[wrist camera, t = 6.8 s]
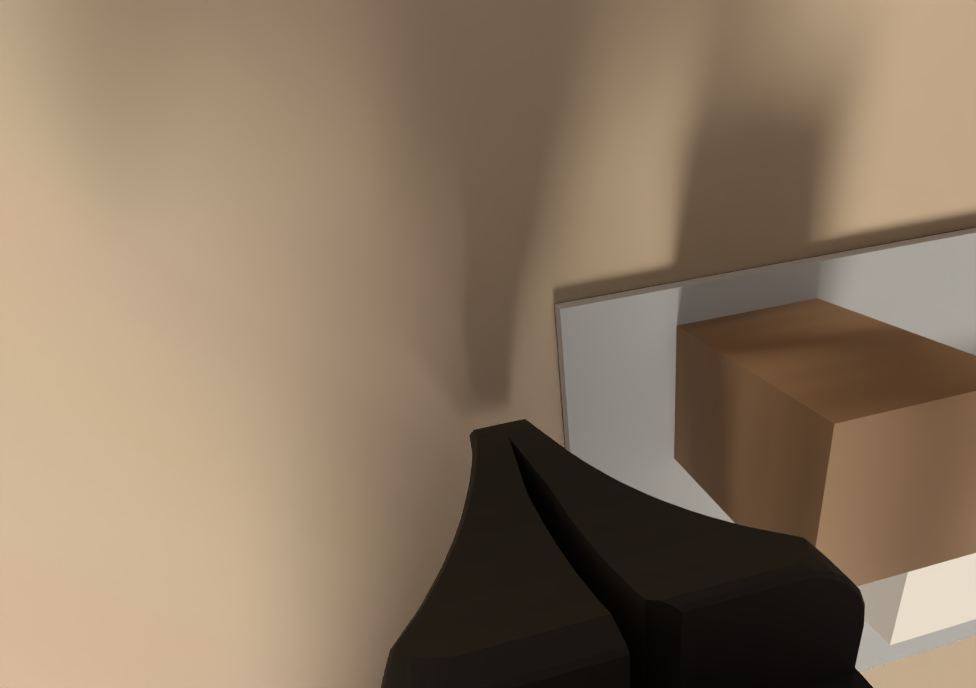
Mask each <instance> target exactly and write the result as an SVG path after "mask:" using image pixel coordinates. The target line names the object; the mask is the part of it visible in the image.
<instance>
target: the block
mask: <svg viewBox="0 0 976 688" xmlns="http://www.w3.org/2000/svg"><path fill="white" fill-rule="evenodd" d="M674 459H675V460H676V461H677V462H678V463H679V464H680V465H681V466H682V467H683V468H684V469H685V470H686V472H687V473H688V474H689V475H690V476H691V477H692V478H693V479H694V480H695V481H696V482H697V483H698V484H699V485H700V486H701V488H702V489H703V490H704V491H705V492H706V493H707V494H708V495H709V496H710V497H711V498H712V499H713V500H714V501H715V502H716V504H717V505H718V506H719V507H720V508H721V509H722V510H723V511H724V512H725V513H726V514H727V515H728V516H729V517H730V518H731V520H732V521H733V522H734V523H736V524H739V525H743V526H747V527H752V528H757V529H762V530H768V531H773V532H778V533H783V534H788V535H793V536H798V537H803V538H805V539H806V540H807V541H809V542H810V543H811V544H812V545H814V546H815V547H816V548H817V549H818V550H819V551H820V552H822V553H823V554H824V555H825V556H826V557H827V558H828V559H829V560H830V561H831V562H832V563H834V564H835V565H836V566H837V567H838V568H839V569H840V570H841V571H842V572H843V573H844V574H845V575H846V576H847V577H848V578H849V579H850V580H851V581H852V582H853V583H854V584H855V585H856V586H861V585H864V584H868V583H871V582H875V581H878V580H882V579H885V578H889V577H892V576H896V575H899V574H903V573H906V572H910V571H914V570H917V569H921V568H924V567H928V566H931V565H935V564H938V563H942V562H945V561H949V560H952V559H956V558H959V557H963V556H966V555H970V554H973V553H976V356H975V355H973V354H970V353H967V352H964V351H962V350H959V349H956V348H953V347H951V346H948V345H945V344H942V343H940V342H937V341H934V340H931V339H929V338H926V337H923V336H920V335H918V334H915V333H912V332H909V331H907V330H904V329H901V328H898V327H896V326H893V325H890V324H887V323H885V322H882V321H879V320H876V319H874V318H871V317H868V316H865V315H863V314H860V313H857V312H854V311H851V310H849V309H846V308H843V307H840V306H838V305H835V304H832V303H829V302H827V301H824V300H821V299H818V298H816V299H811V300H806V301H801V302H795V303H790V304H785V305H780V306H775V307H770V308H765V309H759V310H754V311H749V312H744V313H739V314H734V315H729V316H723V317H718V318H713V319H708V320H703V321H698V322H693V323H688V324H682V325H677V327H676V381H675V434H674Z"/></svg>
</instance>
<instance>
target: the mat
mask: <svg viewBox="0 0 976 688" xmlns="http://www.w3.org/2000/svg"><path fill="white" fill-rule="evenodd" d="M816 298H818V299H821V300H824V301H827V302H829V303H832V304H835V305H838V306H840V307H843V308H846V309H849V310H851V311H854V312H857V313H860V314H863V315H865V316H868V317H871V318H874V319H876V320H879V321H882V322H885V323H887V324H890V325H893V326H896V327H898V328H901V329H904V330H907V331H909V332H912V333H915V334H918V335H920V336H923V337H926V338H929V339H931V340H934V341H937V342H940V343H942V344H945V345H948V346H951V347H953V348H956V349H959V350H962V351H964V352H967V353H970V354H973V355H975V356H976V228H970V229H965V230H959V231H954V232H948V233H943V234H937V235H932V236H926V237H921V238H916V239H910V240H905V241H899V242H894V243H888V244H883V245H877V246H872V247H866V248H861V249H855V250H850V251H844V252H839V253H833V254H828V255H822V256H817V257H811V258H806V259H800V260H795V261H789V262H784V263H778V264H773V265H767V266H762V267H756V268H751V269H745V270H740V271H734V272H729V273H723V274H718V275H712V276H707V277H702V278H696V279H691V280H685V281H680V282H674V283H669V284H663V285H658V286H652V287H647V288H641V289H636V290H630V291H625V292H619V293H614V294H608V295H603V296H597V297H592V298H586V299H581V300H575V301H570V302H564V303H559V304H555V315H556V328H557V342H558V355H559V368H560V382H561V395H562V409H563V422H564V435H565V449H566V450H568V451H569V452H571V453H572V454H574V455H575V456H577V457H578V458H580V459H581V460H583V461H585V462H586V463H588V464H589V465H591V466H593V467H595V468H596V469H598V470H600V471H601V472H603V473H605V474H607V475H608V476H610V477H612V478H614V479H616V480H618V481H620V482H622V483H624V484H626V485H628V486H630V487H633V488H635V489H637V490H639V491H641V492H643V493H646V494H648V495H650V496H653V497H655V498H658V499H660V500H663V501H665V502H668V503H671V504H674V505H676V506H679V507H682V508H685V509H687V510H690V511H693V512H697V513H700V514H703V515H706V516H710V517H713V518H717V519H721V520H724V521H728V522H732V523H734V522H733V521H732V520H731V518H730V517H729V516H728V515H727V514H726V513H725V512H724V511H723V510H722V509H721V508H720V507H719V506H718V505H717V504H716V502H715V501H714V500H713V499H712V498H711V497H710V496H709V495H708V494H707V493H706V492H705V491H704V490H703V489H702V488H701V486H700V485H699V484H698V483H697V482H696V481H695V480H694V479H693V478H692V477H691V476H690V475H689V474H688V473H687V472H686V470H685V469H684V468H683V467H682V466H681V465H680V464H679V463H678V462H677V461H676V460H675V459H674V434H675V381H676V327H677V325H682V324H688V323H693V322H698V321H703V320H708V319H713V318H718V317H723V316H729V315H734V314H739V313H744V312H749V311H754V310H759V309H765V308H770V307H775V306H780V305H785V304H790V303H795V302H801V301H806V300H811V299H816ZM974 636H976V619H975V620H971V621H968V622H965V623H961V624H958V625H955V626H952V627H948V628H945V629H942V630H938V631H935V632H932V633H929V634H925V635H922V636H919V637H915V638H912V639H909V640H906V641H902V642H899V643H896V644H892V645H889V644H888V643H887V642H886V641H885V640H884V639H883V638H882V637H881V636H880V635H879V634H878V633H877V632H876V631H875V630H874V629H873V628H872V627H871V626H870V625H869V624H868V623H867V622H866V621H865V620H864V628H863V632H862V637H861V642H860V646H859V651H858V656H857V660H856V665H855V668H856V669H857V670H858V672H861V671H864V670H867V669H871V668H874V667H877V666H880V665H884V664H887V663H890V662H893V661H896V660H900V659H903V658H906V657H909V656H913V655H916V654H919V653H922V652H926V651H929V650H932V649H935V648H939V647H942V646H945V645H948V644H951V643H955V642H958V641H961V640H964V639H968V638H971V637H974Z"/></svg>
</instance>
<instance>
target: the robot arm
mask: <svg viewBox="0 0 976 688" xmlns="http://www.w3.org/2000/svg"><path fill="white" fill-rule="evenodd" d="M470 441H471V447H472V454H473V455H472V468H471V476H470V483H469V488H468V492H467V497H466V501H465V505H464V509H463V513H462V516H461V520H460V523H459V526H458V529H457V532H456V534H455V537H454V540H453V542H452V545H451V547H450V550H449V552H448V554H447V557H446V559H445V561H444V563H443V566H442V568H441V570H440V572H439V574H438V576H437V578H436V579H435V581H434V583H433V585H432V587H431V588H430V590H429V592H428V594H427V595H426V597H425V599H424V601H423V603H422V604H421V606H420V608H419V609H418V611H417V612H416V614H415V616H414V617H413V618H412V620H411V621H410V623H409V624H408V626H407V627H406V628H405V630H404V631H403V633H402V634H401V636H400V637H399V638H398V640H397V641H396V643H395V644H394V646H393V647H392V648H391V650H390V653H389V657H388V660H387V664H386V668H385V672H384V677H383V681H382V686H381V688H873V687H872V686H871V685H870V684H869V683H868V681H867V680H866V679H865V678H864V677H863V676H862V675H861V674H860V673H859V672H858V670H857V669H856V668H855V665H856V660H857V656H858V651H859V646H860V642H861V637H862V632H863V628H864V615H865V603H864V600H863V597H862V594H861V591H860V589H859V588H858V587H857V586H856V585H855V584H854V583H853V582H852V581H851V580H850V579H849V578H848V577H847V576H846V575H845V574H844V573H843V572H842V571H841V570H840V569H839V568H838V567H837V566H836V565H835V564H834V563H832V562H831V561H830V560H829V559H828V558H827V557H826V556H825V555H824V554H823V553H822V552H820V551H819V550H818V549H817V548H816V547H815V546H814V545H812V544H811V543H810V542H809V541H807V540H806V539H805V538H803V537H798V536H793V535H788V534H783V533H778V532H773V531H768V530H762V529H757V528H752V527H747V526H743V525H739V524H736V523H732V522H728V521H724V520H721V519H717V518H713V517H710V516H706V515H703V514H700V513H697V512H693V511H690V510H687V509H685V508H682V507H679V506H676V505H674V504H671V503H668V502H665V501H663V500H660V499H658V498H655V497H653V496H650V495H648V494H646V493H643V492H641V491H639V490H637V489H635V488H633V487H630V486H628V485H626V484H624V483H622V482H620V481H618V480H616V479H614V478H612V477H610V476H608V475H607V474H605V473H603V472H601V471H600V470H598V469H596V468H595V467H593V466H591V465H589V464H588V463H586V462H585V461H583V460H581V459H580V458H578V457H577V456H575V455H574V454H572V453H571V452H569V451H568V450H566V449H565V448H564V447H562V446H561V445H559V444H558V443H557V442H555V441H554V440H552V439H551V438H550V437H548V436H547V435H546V434H544V433H543V432H542V431H540V430H539V429H538V428H536V427H535V426H534V425H532V424H531V423H530V422H528V421H527V420H526V419H523V420H518V421H514V422H509V423H504V424H500V425H495V426H490V427H486V428H481V429H476V430H473V432H472V433H471V434H470Z"/></svg>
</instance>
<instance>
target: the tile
mask: <svg viewBox="0 0 976 688" xmlns="http://www.w3.org/2000/svg"><path fill="white" fill-rule="evenodd" d="M857 587H858V588H859V589H860V591H861V594H862V597H863V600H864V603H865V615H864V620H865V621H866V622H867V623H868V624H869V625H870V626H871V627H872V628H873V629H874V630H875V631H876V632H877V633H878V634H879V635H880V636H881V637H882V638H883V639H884V640H885V641H886V642H887V643H888V644H889V645H892V644H896V643H899V642H902V641H906V640H909V639H912V638H915V637H919V636H922V635H925V634H929V633H932V632H935V631H938V630H942V629H945V628H948V627H952V626H955V625H958V624H961V623H965V622H968V621H971V620H975V619H976V553H973V554H970V555H966V556H963V557H959V558H956V559H952V560H949V561H945V562H942V563H938V564H935V565H931V566H928V567H924V568H921V569H917V570H914V571H910V572H906V573H903V574H899V575H896V576H892V577H889V578H885V579H882V580H878V581H875V582H871V583H868V584H864V585H861V586H857Z"/></svg>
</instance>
